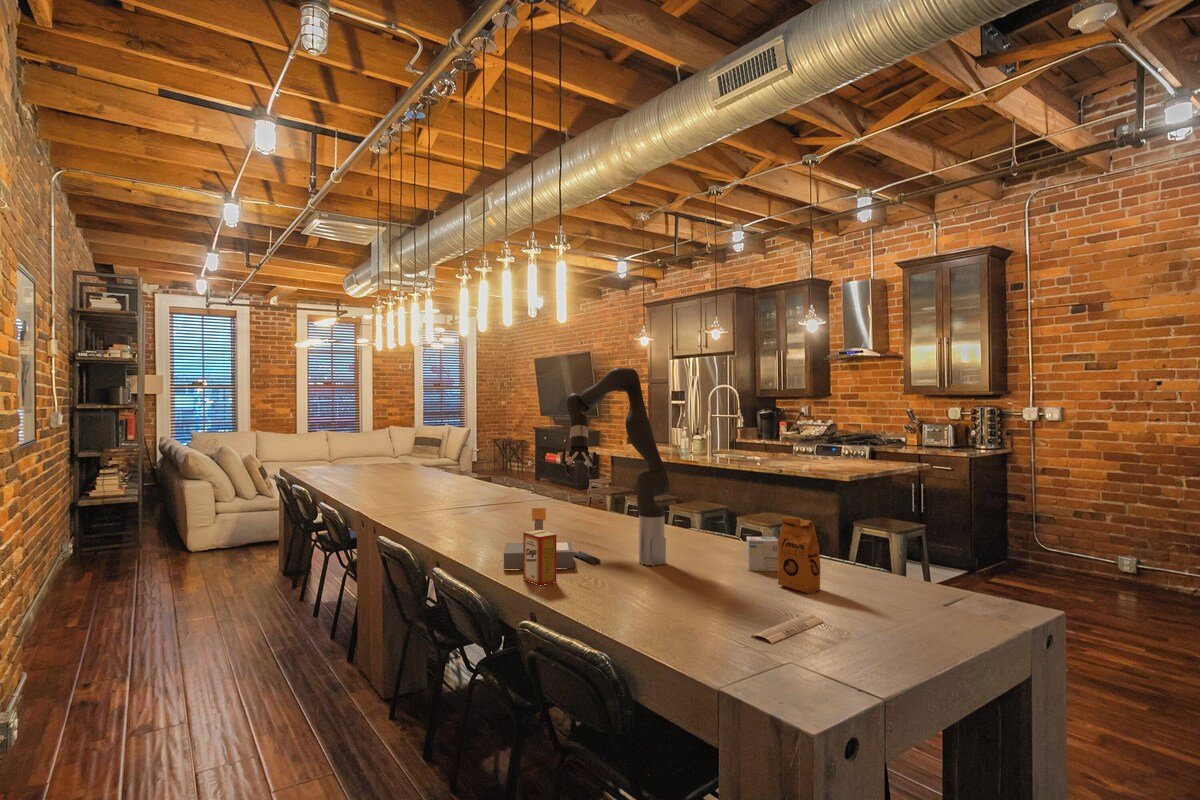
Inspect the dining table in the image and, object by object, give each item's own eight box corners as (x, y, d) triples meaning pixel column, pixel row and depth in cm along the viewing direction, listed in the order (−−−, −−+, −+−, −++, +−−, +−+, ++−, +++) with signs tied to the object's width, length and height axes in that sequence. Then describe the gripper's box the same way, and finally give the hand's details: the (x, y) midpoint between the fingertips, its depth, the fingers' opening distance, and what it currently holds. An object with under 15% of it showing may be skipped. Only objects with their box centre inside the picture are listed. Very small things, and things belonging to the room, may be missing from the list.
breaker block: (506, 559, 237) (506, 534, 237) (571, 557, 239) (571, 533, 239) (503, 570, 221) (503, 544, 221) (573, 569, 223) (573, 543, 223)
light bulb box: (776, 566, 227) (776, 536, 227) (779, 571, 220) (779, 540, 220) (745, 565, 228) (745, 535, 228) (748, 571, 221) (748, 539, 221)
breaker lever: (531, 544, 231) (532, 510, 237) (545, 544, 232) (545, 509, 237) (531, 543, 229) (531, 508, 234) (545, 542, 229) (545, 508, 235)
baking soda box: (556, 582, 207) (556, 533, 207) (539, 586, 202) (539, 535, 202) (539, 576, 214) (540, 528, 214) (523, 579, 210) (523, 531, 210)
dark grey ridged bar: (601, 563, 231) (601, 559, 231) (592, 564, 229) (592, 560, 229) (580, 554, 244) (580, 550, 244) (571, 555, 242) (571, 551, 242)
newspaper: (803, 618, 175) (803, 612, 175) (827, 626, 170) (827, 619, 170) (751, 640, 160) (751, 632, 160) (775, 648, 154) (775, 641, 154)
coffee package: (806, 596, 193) (806, 523, 193) (773, 586, 203) (773, 517, 203) (826, 590, 199) (826, 519, 199) (793, 581, 209) (793, 513, 209)
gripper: (563, 433, 259) (563, 471, 251) (597, 436, 262) (598, 473, 254) (560, 440, 265) (559, 477, 258) (594, 443, 268) (594, 480, 261)
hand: (578, 475), depth 256 cm, fingers open, 8 cm apart
